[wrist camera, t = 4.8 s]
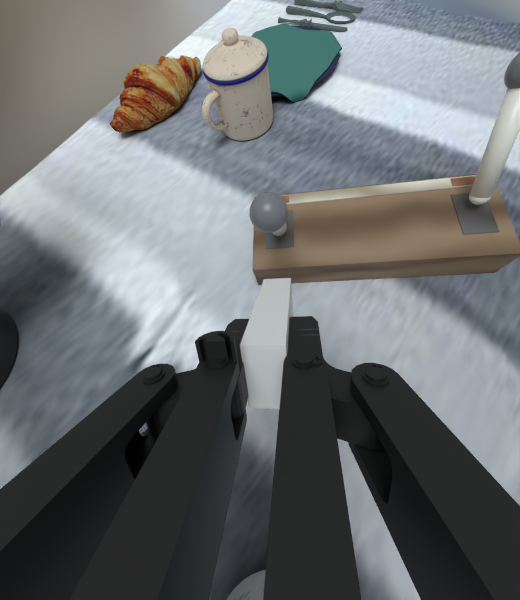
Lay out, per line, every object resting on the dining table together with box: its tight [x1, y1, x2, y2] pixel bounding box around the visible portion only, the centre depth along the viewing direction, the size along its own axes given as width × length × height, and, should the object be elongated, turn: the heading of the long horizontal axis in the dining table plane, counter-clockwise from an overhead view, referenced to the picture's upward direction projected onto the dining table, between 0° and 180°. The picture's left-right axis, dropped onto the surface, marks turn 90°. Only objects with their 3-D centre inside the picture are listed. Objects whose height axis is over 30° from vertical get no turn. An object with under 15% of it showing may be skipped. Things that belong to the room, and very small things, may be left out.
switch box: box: [253, 174, 520, 285], centre depth 30 cm, size 10×26×4 cm, turn 89°
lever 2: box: [469, 53, 520, 205], centre depth 23 cm, size 3×3×12 cm
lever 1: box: [250, 192, 288, 236], centre depth 23 cm, size 3×3×12 cm
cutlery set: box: [251, 0, 363, 102], centre depth 48 cm, size 20×30×2 cm, turn 148°
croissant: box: [110, 56, 201, 133], centre depth 46 cm, size 21×10×8 cm, turn 141°
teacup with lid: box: [202, 28, 273, 141], centre depth 37 cm, size 12×9×12 cm
